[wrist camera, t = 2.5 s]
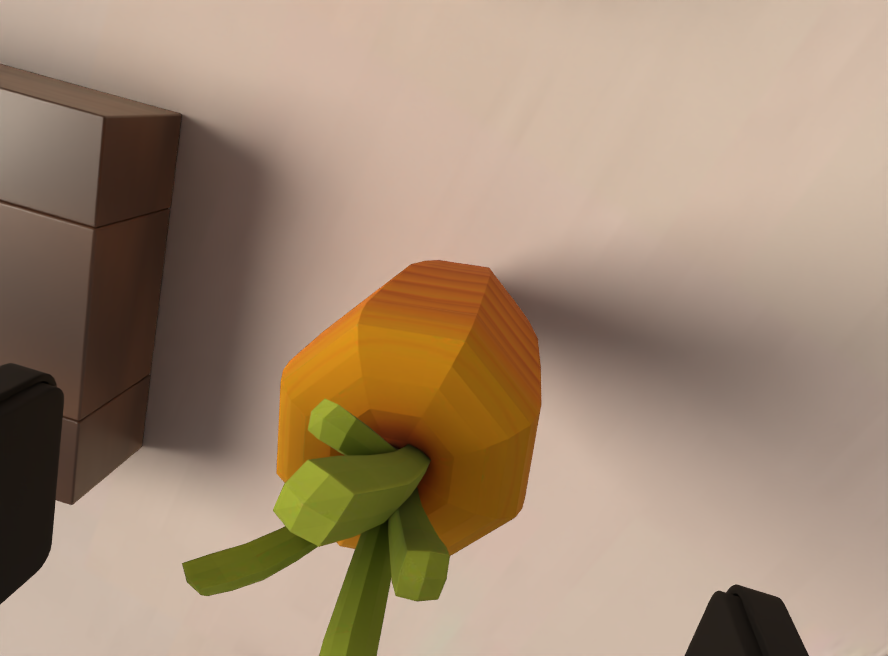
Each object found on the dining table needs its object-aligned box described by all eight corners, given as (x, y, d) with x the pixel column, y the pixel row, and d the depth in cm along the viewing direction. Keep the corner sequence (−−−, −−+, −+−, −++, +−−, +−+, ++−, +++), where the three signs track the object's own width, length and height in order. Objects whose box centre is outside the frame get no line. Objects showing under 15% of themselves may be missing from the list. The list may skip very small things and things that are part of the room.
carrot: (497, 394, 23) (406, 853, 9) (365, 317, 23) (63, 660, 9) (580, 266, 21) (629, 582, 7) (439, 183, 21) (210, 339, 7)
